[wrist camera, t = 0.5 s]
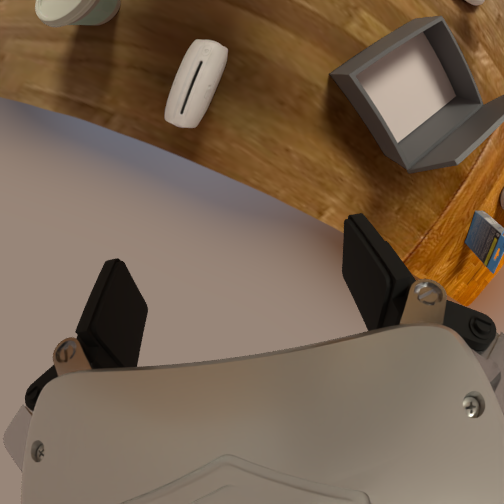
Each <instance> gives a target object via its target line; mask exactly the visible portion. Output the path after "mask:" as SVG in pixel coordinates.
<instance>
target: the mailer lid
mask: <svg viewBox="0 0 504 504" xmlns="http://www.w3.org/2000/svg"><path fill="white" fill-rule="evenodd" d="M503 122H504V95H502V96H500V97H498V98H496V99H494V100H492V101H490V102H488V103H486V104H485V105H483V106H482V107H481V108H480V109H479V110H478V111H477V112H475V113H474V114H473V115H472V116H471V117H470V118H469V119H467V120H466V121H465V122H464V123H463V124H462V125H461V126H459V127H458V128H457V129H456V130H455V131H454V132H452V133H451V134H450V135H449V136H448V137H447V138H445V139H444V140H443V141H442V142H441V143H439V144H438V145H437V146H436V147H435V148H434V149H432V150H431V151H430V152H429V153H428V154H426V155H425V156H424V157H423V158H422V159H420V160H419V161H418V162H417V163H416V164H414V165H413V166H412V167H411V168H409V169H408V170H407V172H408V173H409V174H410V173H415V172H420V171H426V170H431V169H437V168H443V167H449V166H455V165H458V164H459V163H460V162H461V161H463V160H464V159H465V158H466V157H467V156H468V155H469V154H470V153H471V152H472V151H473V150H475V149H476V148H477V147H478V146H479V145H480V144H481V143H482V142H483V141H484V140H485V139H486V138H487V137H488V136H489V135H490V134H491V133H492V132H493V131H494V130H496V129H497V128H498V127H499V126H500V125H501V124H502V123H503Z"/></svg>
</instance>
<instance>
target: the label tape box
mask: <svg viewBox="0 0 504 504" xmlns="http://www.w3.org/2000/svg"><path fill="white" fill-rule="evenodd" d="M503 233H504V228H503V227H502V226H501V225H500V224H498V223H497V222H496V221H495V220H494V219H493V218H492V217H490V216H489V215H488V214H487V213H486V212H484V211H475V213H474V217H473V220H472V223H471V226H470V229H469V232H468V235H467V238H466V240H465V244H466V245H467V246H468V247H469V248H470V249H471V250H472V251H473V252H474V253H475V254H476V255H477V257H478V258H479V259H480V260H481V261H482V262H483V263H484V265H485V266H486V267H487V268H488V269H489V270H490V271H491V272H492V273H493V274H494V272H495V270H496V268H497V266H498V264H499V262H500V259H501V257H502V255H503V253H504V236H503ZM498 248H500V251H499V256H497V258H496V259H494V257H495V255H496V252H497V250H498Z"/></svg>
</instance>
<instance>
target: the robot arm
mask: <svg viewBox="0 0 504 504" xmlns="http://www.w3.org/2000/svg"><path fill="white" fill-rule="evenodd" d="M342 274H343V277H344V280H345V282H346V284H347V286H348V288H349V290H350V292H351V294H352V296H353V298H354V300H355V303H356V305H357V307H358V309H359V311H360V313H361V315H362V318H363V320H364V322H365V324H366V327H367V329H368V331H367V332H363V333H359V334H355V335H350V336H346V337H342V338H337V339H333V340H328V341H324V342H319V343H315V344H310V345H305V346H300V347H295V348H290V349H284V350H279V351H273V352H267V353H261V354H255V355H249V356H242V357H235V358H228V359H220V360H212V361H203V362H194V363H185V364H173V365H160V366H146V367H137V363H138V358H139V351H140V347H141V341H142V337H143V331H144V327H145V322H146V317H147V313H148V307H147V304H146V302H145V300H144V299H143V297H142V295H141V293H140V291H139V290H138V288H137V286H136V284H135V282H134V280H133V278H132V277H131V275H130V273H129V271H128V269H127V267H126V265H125V263H124V262H123V261H120V260H119V259H112V260H108V261H106V262H105V264H104V266H103V268H102V270H101V272H100V274H99V276H98V279H97V281H96V283H95V285H94V287H93V290H92V292H91V294H90V297H89V299H88V301H87V304H86V306H85V308H84V311H83V314H82V316H81V319H80V321H79V324H78V326H77V329H76V333H77V334H78V336H77V339H76V338H72V337H71V338H66V339H64V340H63V341H61V342H60V343H59V344H58V345H57V347H56V348H55V350H54V353H53V362H54V365H53V366H52V367H51V368H50V369H49V370H47V371H46V372H45V373H44V374H43V375H42V376H40V377H39V378H38V379H37V380H36V381H35V382H34V383H32V384H31V385H30V387H29V388H28V389H27V392H26V395H25V403H26V406H24V405H22V406H21V408H20V409H19V411H18V413H17V414H16V415H15V417H14V419H13V420H12V422H11V423H10V425H9V426H8V428H7V429H6V431H5V434H4V438H3V440H4V445H5V448H6V449H7V451H8V452H9V454H10V455H11V457H12V458H13V460H14V461H15V463H16V464H17V466H18V467H19V469H20V470H21V471H22V487H21V488H22V489H21V504H504V334H503V333H502V332H501V333H500V334H498V333H497V332H496V327H495V324H494V322H493V321H492V319H491V318H489V317H488V316H487V315H485V314H483V313H480V312H478V311H475V310H472V309H470V308H467V307H465V306H462V305H459V304H457V303H454V302H451V301H448V300H446V299H447V296H446V292H445V290H444V288H443V287H442V286H441V285H440V284H439V283H437V282H435V281H433V280H429V279H420V280H417V281H416V280H415V278H414V277H413V276H412V274H411V273H410V271H409V270H408V269H407V267H406V266H405V264H404V263H403V262H402V260H401V259H400V258H399V256H398V255H397V254H396V252H395V251H394V250H393V248H392V247H391V246H390V244H389V243H388V242H387V241H384V240H383V238H382V237H381V236H380V234H379V233H378V232H377V231H376V229H375V228H374V227H373V226H372V224H371V223H370V222H369V221H368V219H367V218H366V217H365V216H364V215H363V214H362V213H360V214H354V215H349V216H348V219H345V221H344V243H343V264H342Z"/></svg>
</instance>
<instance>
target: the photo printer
mask: <svg viewBox="0 0 504 504" xmlns="http://www.w3.org/2000/svg"><path fill="white" fill-rule="evenodd" d="M227 57H228V49H227V48H226V47H224V46H222V45H221V44H220V43H218V42H216V41H213V40H208V39H207V40H201V39H196V40H195V41H194V42H193V43H192V44H191V46H190V47H189V49H188V50H187V52H186V54H185V56H184V58H183V60H182V62H181V65H180V67H179V69H178V72H177V74H176V77H175V79H174V82H173V85H172V87H171V90H170V93H169V97H168V100H167V104H166V108H165V120H166V121H167V122H169V123H172V124H173V125H175V126H177V127H181V128H195V127H197V125H198V124H199V122H200V121H201V119H202V117H203V116H204V114H205V113H206V111H207V109H208V107H209V104H210V102H211V100H212V98H213V95H214V93H215V91H216V88H217V86H218V83H219V81H220V79H221V76H222V74H223V71H224V68H225V66H226V63H227Z"/></svg>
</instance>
